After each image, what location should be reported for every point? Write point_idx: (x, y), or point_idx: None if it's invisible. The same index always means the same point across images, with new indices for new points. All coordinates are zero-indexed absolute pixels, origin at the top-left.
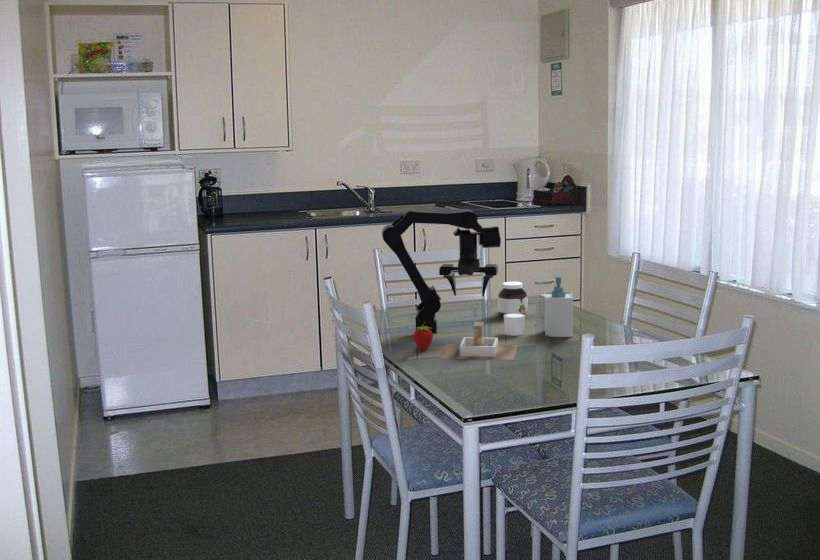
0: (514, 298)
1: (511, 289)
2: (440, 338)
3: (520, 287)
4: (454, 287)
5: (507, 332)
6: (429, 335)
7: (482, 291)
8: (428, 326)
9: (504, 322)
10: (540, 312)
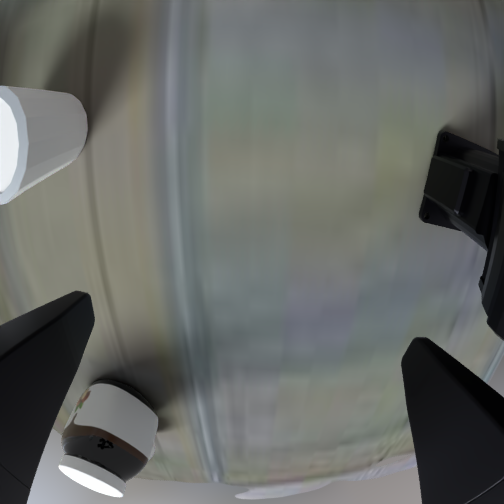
0: (83, 426)
1: (84, 459)
2: (412, 106)
3: (62, 457)
4: (474, 398)
5: (66, 98)
6: None
7: (55, 317)
8: (485, 156)
9: (49, 124)
10: (66, 400)
